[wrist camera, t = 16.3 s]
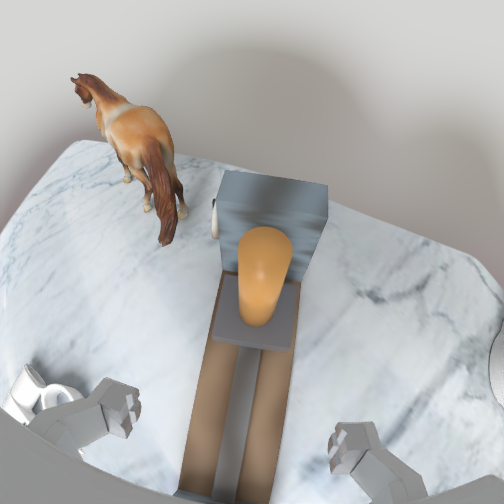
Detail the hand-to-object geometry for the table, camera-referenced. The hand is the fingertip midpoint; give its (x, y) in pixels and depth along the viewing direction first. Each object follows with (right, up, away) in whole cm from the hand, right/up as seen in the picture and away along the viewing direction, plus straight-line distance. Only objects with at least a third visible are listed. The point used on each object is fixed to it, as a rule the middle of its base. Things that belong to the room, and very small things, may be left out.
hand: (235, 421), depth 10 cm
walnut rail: (0, -9, +20) cm, 22 cm away
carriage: (+1, -1, +21) cm, 21 cm away
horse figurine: (-19, +15, +34) cm, 42 cm away
